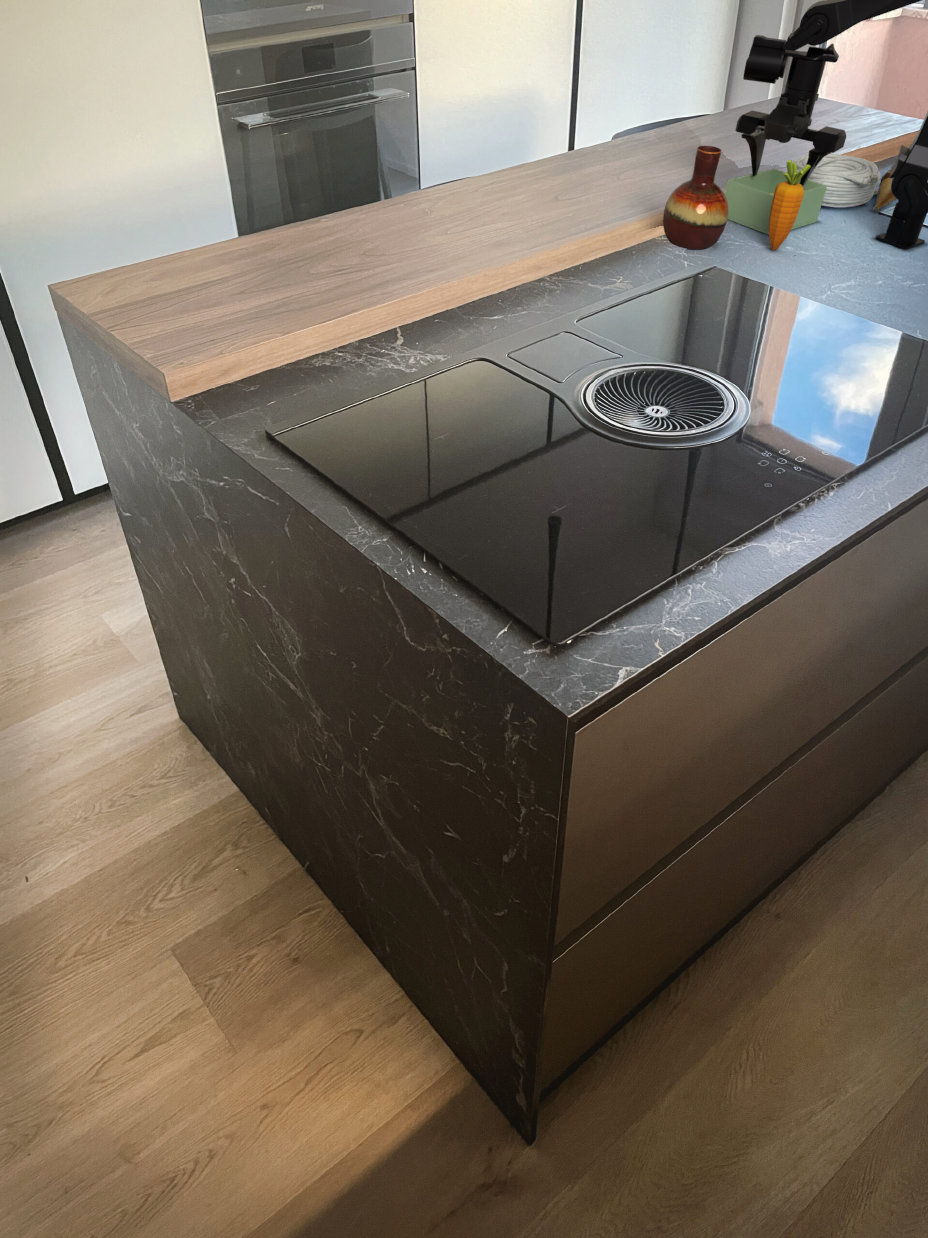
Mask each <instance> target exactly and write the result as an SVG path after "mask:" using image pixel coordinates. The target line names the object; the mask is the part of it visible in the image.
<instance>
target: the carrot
mask: <svg viewBox="0 0 928 1238" xmlns="http://www.w3.org/2000/svg"><path fill="white" fill-rule="evenodd" d="M810 168H811V166H810V165H808V164H807V165H806V166H805V167H804V168H803V169H802V170H801V171H800V172H799V173H798V174H797V165H796V163H795V162H794V163H793V160H792V159H788V160H786V170H787V171H786V173H785V174H784V176H785V177H786V179H787V180H788V181H785V182H781V183H779V184H778V185H777V186H776V189H775V192H774V197H773V201H772V206H771V211H770V219H769V235H768V238H769V244H770V249H771V251H773V252H775V251H777V250H778V249H779V248H780V247H781V245H782V244H783V243H784V242H785V241H786V239H787V237H788V236H789V235H790V232H791V231H792V230H791V228H792V226H793V224H794V222H795V220H796V217H797V214H798V211H799V209H800V205H801V202H802V199H803V196H804V189H803V187H802V185H801V184H799V183H797V182H798V181H799V180H800V179H801V178H802V176H803V175H804V174H805V173H806V172H807V171H808V170H809V169H810Z"/></svg>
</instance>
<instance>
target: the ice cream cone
mask: <svg viewBox="0 0 928 1238" xmlns="http://www.w3.org/2000/svg"><path fill="white" fill-rule="evenodd" d="M890 172H891V168H890V169H889V170H888V171H886V172H885V173H884V174H883V175H882V176H881V177H880V182H879V183H878V189H877V191H878V194H876V200H875V201H876V202H875V205H874V206H873V208H872V210H873V211H875V212H876V213H879V211H880V209H881V208H884V207H885V206H887V205H889V204H890V203H892V202H893V201H895V200H896V199H897V198H896V197H895V196H894V195H893V193H892V190H891V184H892V178H890Z"/></svg>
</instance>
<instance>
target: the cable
mask: <svg viewBox="0 0 928 1238" xmlns="http://www.w3.org/2000/svg"><path fill="white" fill-rule="evenodd" d="M808 157H809V154H805V155H802V156H799V157H797V158H795V159H794V160H792V163H794V162H795V163H796V165H797V174H798V173H799V172H800V171H801V170H802V169H803V168H804V167H805V166H806V164H807V161H808ZM808 180H810V181H813V182H816V183H819V184H822V185H825V186H827V188H826V191H825V194H824V198H823V201H822V205H821V207H822V206H823V207H829V208H852V207H853V208H854V207H857V206H862V205H861V204H864V203H865V204H866V203H868V202H869V201H871V200H872V198H873V197H874V195H873V194H874V191H875V189H876V190H877V187H878V186H879V184H880V181H881V172H880V170H879V167H878V165H876V164H875V162H873V161H871V160H868V159H865V158H862V157H858V156H854V155H844V154H839V153H830V154H828V155H827V156H824V157H823V159H822V160H821V161H820V162H819V164H818V165H817V166H816V168H815V169H814V171H813V172H812V174H811V175H810V177H809V178H808Z"/></svg>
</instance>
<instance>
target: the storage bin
mask: <svg viewBox="0 0 928 1238" xmlns="http://www.w3.org/2000/svg"><path fill="white" fill-rule="evenodd" d="M785 173H787V171H783V170H780V169H778V168H771V169H766V170H762V171H758V173H757V175H756V176H755V177H754V176H753V175H752V173H750V174H746V175H742V176H738V177H734V178H730V179H729V178H728V179H727V181H726V186H725V190H724V194H725V196H726V199H727V202H728V219H727V221H730V222H734V223H736V224H739V225H741V226H744V227H746V228H749V229H752V230H755V231H757V232H760V233H762V234H765V235H768V236H769V219H770V211H771V206H772V201H773V197H774V195H773V194H770V193H774V192H775V189H776V186H777V185H778V184H779V183H781V182H785V181H788V180H787V179H786V177H785V176H784V174H785ZM800 181H801V179H800V180H799V181H798V182H797V183H799V184H800ZM826 188H827V186H825V185H822V184H819V183H816V182H813V181H810V180H807V181H806V183H805V184H804V186H803V189H804V196H803V199H802V202H801V205H800V209H799V211H798V214H797V217H796V220H795V222H794V224H793V226H792V228H791V230H790V231H792V230H795V229H798V228H802V227H805V226H809V225H811V224H815V223H817V221H818V218H819V215H820V211H821V208H822V201H823V198H824V194H825V191H826Z"/></svg>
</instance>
